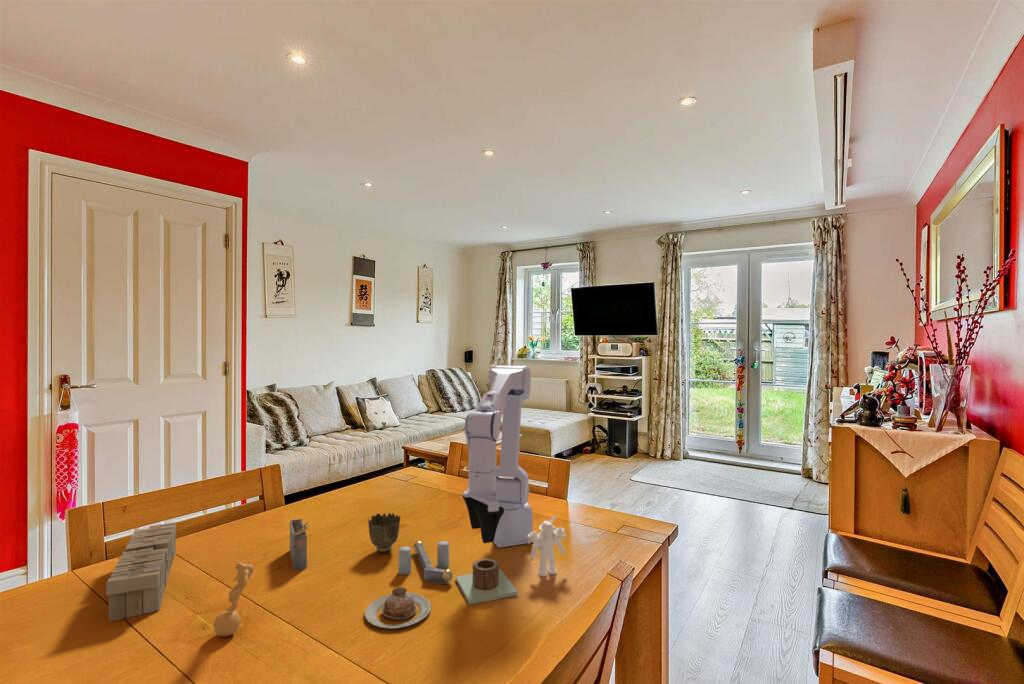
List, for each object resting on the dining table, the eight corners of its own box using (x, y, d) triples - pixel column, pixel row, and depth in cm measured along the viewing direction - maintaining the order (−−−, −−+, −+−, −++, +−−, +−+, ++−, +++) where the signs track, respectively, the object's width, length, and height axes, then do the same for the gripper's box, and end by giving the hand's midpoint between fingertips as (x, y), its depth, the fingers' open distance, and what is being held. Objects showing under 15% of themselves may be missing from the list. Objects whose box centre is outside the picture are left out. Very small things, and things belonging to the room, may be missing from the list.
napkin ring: (493, 576, 104) (493, 557, 104) (501, 587, 100) (501, 567, 100) (470, 580, 102) (470, 560, 102) (477, 591, 98) (477, 571, 98)
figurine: (214, 625, 87) (214, 557, 87) (252, 616, 90) (252, 550, 90) (212, 651, 80) (212, 578, 80) (254, 640, 83) (254, 569, 83)
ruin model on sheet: (308, 569, 109) (309, 525, 109) (293, 572, 108) (294, 528, 108) (303, 549, 119) (303, 509, 119) (289, 552, 118) (290, 511, 118)
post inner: (447, 562, 112) (447, 540, 112) (450, 567, 110) (450, 545, 110) (436, 564, 111) (436, 542, 111) (438, 569, 109) (438, 546, 109)
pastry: (398, 642, 84) (398, 615, 84) (350, 620, 90) (350, 595, 90) (443, 609, 94) (444, 585, 94) (397, 591, 100) (398, 569, 100)
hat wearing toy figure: (561, 565, 111) (561, 512, 111) (569, 573, 108) (570, 518, 107) (524, 572, 108) (524, 517, 108) (531, 580, 104) (532, 523, 104)
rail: (435, 548, 120) (435, 536, 119) (454, 584, 102) (454, 571, 102) (411, 551, 118) (411, 540, 117) (427, 589, 100) (427, 575, 100)
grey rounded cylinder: (409, 568, 109) (409, 545, 109) (411, 573, 107) (411, 550, 107) (397, 570, 108) (397, 547, 108) (399, 575, 106) (399, 552, 106)
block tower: (135, 564, 112) (103, 627, 87) (135, 527, 113) (103, 579, 87) (177, 557, 116) (158, 615, 91) (177, 521, 116) (158, 569, 91)
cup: (391, 559, 113) (391, 525, 113) (362, 556, 115) (362, 522, 115) (405, 546, 121) (405, 513, 120) (377, 543, 122) (377, 511, 122)
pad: (500, 572, 108) (500, 568, 108) (517, 595, 98) (517, 591, 98) (455, 580, 104) (455, 576, 104) (469, 604, 95) (469, 600, 95)
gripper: (454, 462, 107) (454, 524, 108) (474, 481, 94) (474, 552, 94) (485, 459, 110) (485, 520, 110) (508, 477, 96) (508, 546, 97)
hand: (482, 534), depth 102 cm, fingers open, 7 cm apart
